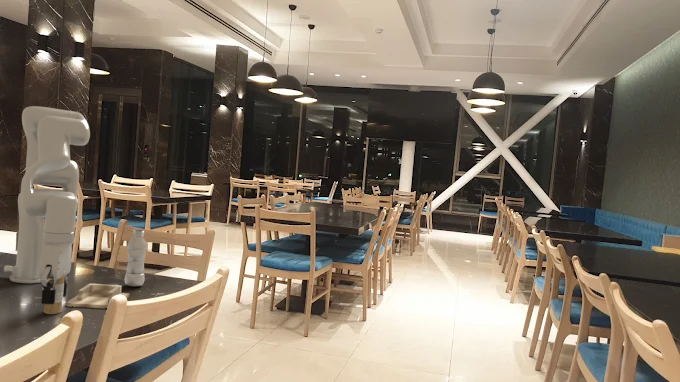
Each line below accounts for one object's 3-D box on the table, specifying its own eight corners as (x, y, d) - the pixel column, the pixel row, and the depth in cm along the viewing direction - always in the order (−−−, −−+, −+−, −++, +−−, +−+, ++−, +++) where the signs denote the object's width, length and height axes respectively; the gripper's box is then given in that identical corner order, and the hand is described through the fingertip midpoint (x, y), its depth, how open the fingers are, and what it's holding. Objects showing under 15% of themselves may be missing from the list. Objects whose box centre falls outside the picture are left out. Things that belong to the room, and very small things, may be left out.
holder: (65, 306, 142) (66, 292, 142) (84, 293, 156) (85, 281, 156) (115, 309, 144) (116, 296, 144) (129, 296, 158) (130, 284, 158)
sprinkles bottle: (41, 311, 136) (44, 264, 135) (58, 308, 139) (62, 263, 138) (47, 315, 133) (50, 268, 132) (64, 313, 136) (68, 266, 136)
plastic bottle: (136, 289, 167) (141, 232, 166) (119, 286, 168) (124, 230, 167) (147, 285, 173) (152, 230, 172) (131, 282, 174) (136, 228, 173)
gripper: (58, 232, 143) (53, 291, 144) (29, 241, 126) (24, 308, 127) (84, 234, 144) (80, 292, 145) (59, 244, 127) (54, 310, 128)
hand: (54, 299), depth 136 cm, fingers open, 6 cm apart
